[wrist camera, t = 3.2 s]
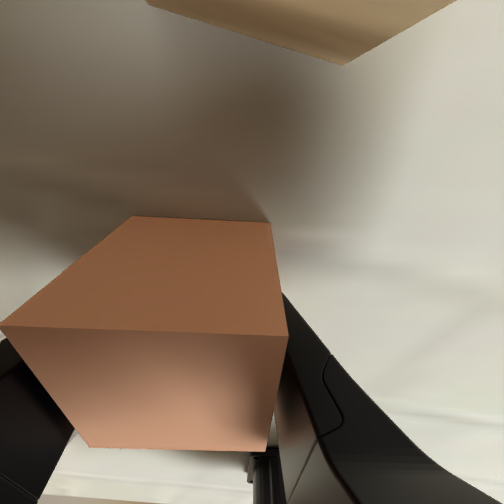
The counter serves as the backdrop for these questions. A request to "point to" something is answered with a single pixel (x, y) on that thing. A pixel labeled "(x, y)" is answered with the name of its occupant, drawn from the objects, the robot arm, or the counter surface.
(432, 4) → the maple block
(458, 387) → the counter surface
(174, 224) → the terracotta block
